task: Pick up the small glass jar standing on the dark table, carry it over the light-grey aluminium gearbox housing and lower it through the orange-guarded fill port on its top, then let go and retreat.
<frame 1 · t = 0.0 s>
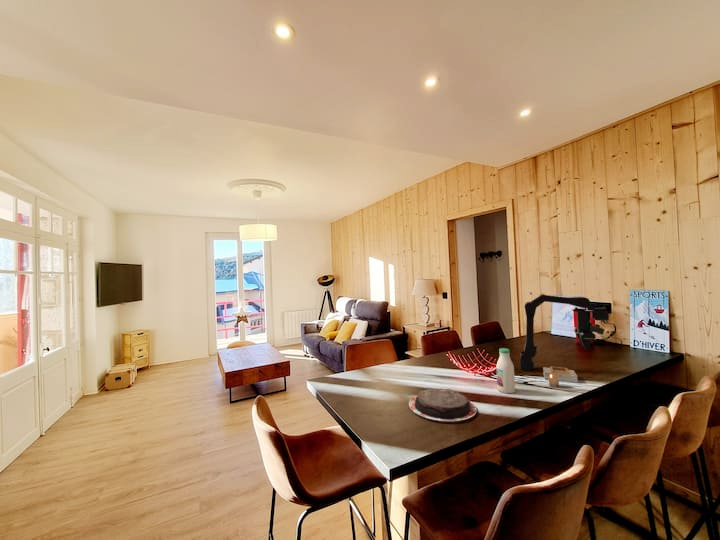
hand: (585, 348, 157), 15 cm above the table, fingers open, 9 cm apart
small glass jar: (553, 386, 144), on the table
milk bottle: (506, 391, 139), on the table
chocolate cake: (441, 408, 123), on the table
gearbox: (559, 378, 154), on the table
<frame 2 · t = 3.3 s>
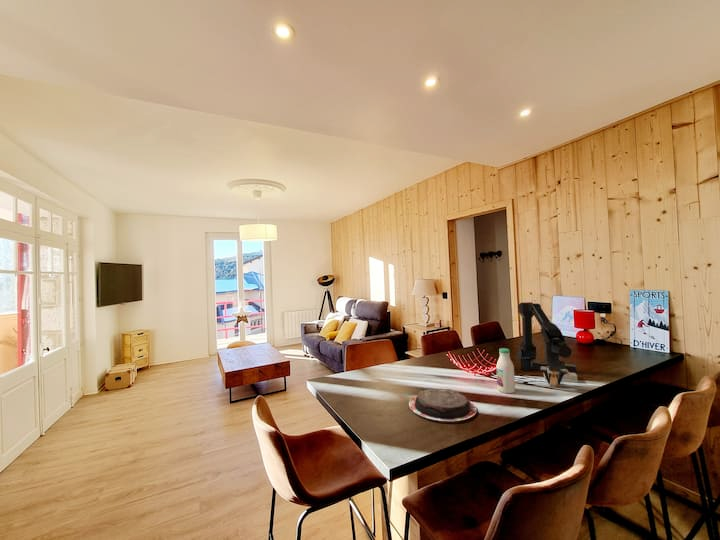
hand: (553, 383, 144), 1 cm above the table, fingers closed on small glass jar, 4 cm apart
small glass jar: (553, 386, 144), on the table, touching gripper
everything else where it was.
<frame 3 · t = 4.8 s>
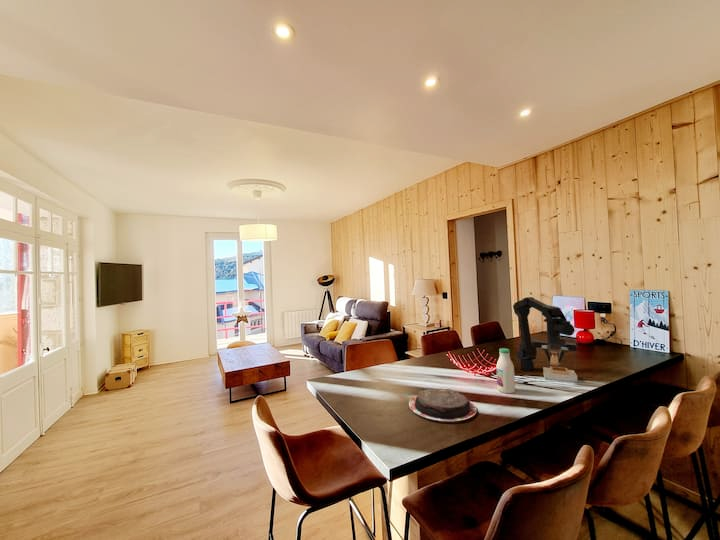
hand: (554, 362, 148), 11 cm above the table, fingers closed on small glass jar, 4 cm apart
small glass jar: (554, 364, 148), point 10 cm above the table, touching gripper
everything else where it was.
when the fingers open (5 cm above the table, at t = 6.7 s): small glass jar drops 4 cm, resting on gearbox.
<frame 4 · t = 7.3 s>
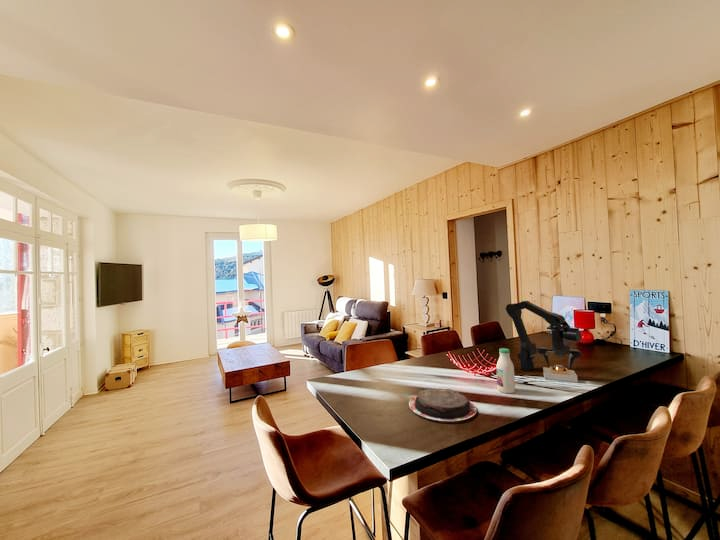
hand: (559, 367, 154), 5 cm above the table, fingers open, 9 cm apart
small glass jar: (559, 377, 154), point 1 cm above the table, touching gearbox
everything else where it was.
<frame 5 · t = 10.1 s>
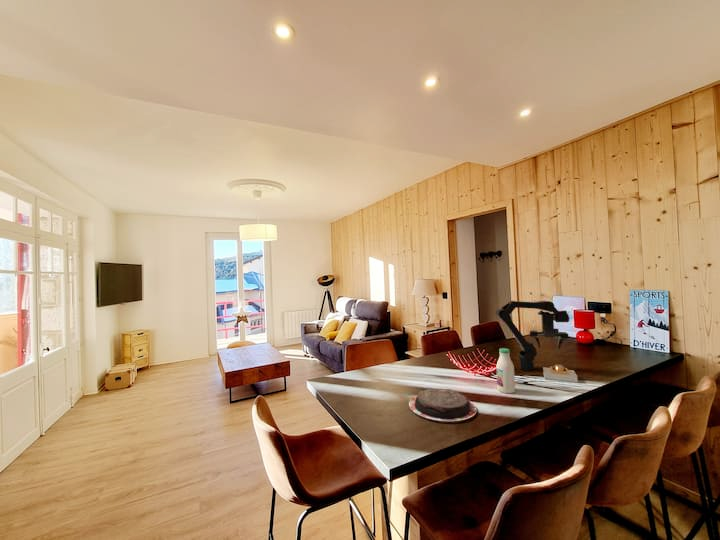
hand: (549, 349, 168), 12 cm above the table, fingers open, 9 cm apart
nothing on the table moved.
at the end: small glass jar inside the target area on the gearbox (0.0 cm from its centre), point 0.6 cm above the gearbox's base; the gripper is holding nothing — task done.
